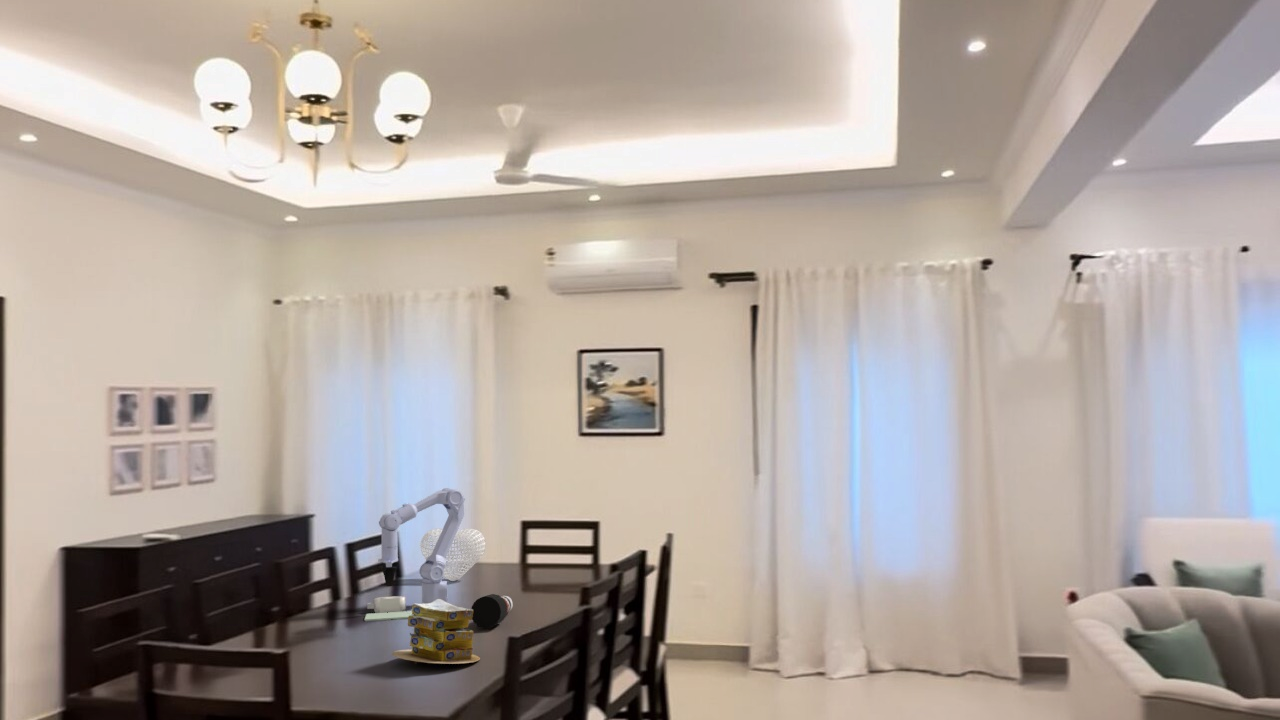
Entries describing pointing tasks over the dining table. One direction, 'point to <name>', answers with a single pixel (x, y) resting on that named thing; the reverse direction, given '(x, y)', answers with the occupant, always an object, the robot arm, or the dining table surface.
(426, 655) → the stacked yellow boxes
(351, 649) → the dining table surface
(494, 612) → the dark bottle
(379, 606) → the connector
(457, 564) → the heart
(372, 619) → the mat
